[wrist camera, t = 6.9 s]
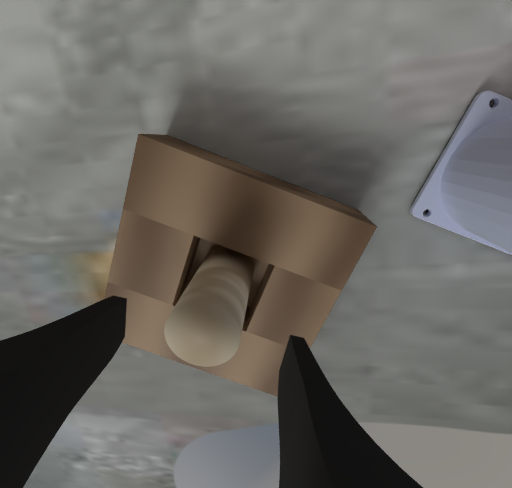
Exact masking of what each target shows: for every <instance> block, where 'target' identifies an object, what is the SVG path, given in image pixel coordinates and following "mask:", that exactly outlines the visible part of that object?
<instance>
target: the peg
mask: <svg viewBox="0 0 512 488" xmlns="http://www.w3.org/2000/svg"><path fill="white" fill-rule="evenodd" d="M253 271H254V262H253V259H252V257H250V256H247V255H245V254H242V253H239V252H237V251H234V250H231V249H229V248H226V247H223V246H221V245H216V246H215V247H213V248H212V249H211V250H210V251H209V252H208V254H207V256H206V257H205V259H204V261H203V262H202V264H201V265H200V267H199V269H198V270H197V272H196V273H195V275H194V277H193V278H192V280H191V281H190V283H189V285H188V286H187V288H186V289H185V291H184V293H183V294H182V296H181V297H180V299H179V301H178V302H177V304H176V305H175V307H174V309H173V310H172V312H171V313H170V315H169V317H168V318H167V320H166V323H165V327H164V335H165V339H166V342H167V344H168V346H169V347H170V349H171V350H172V351H173V352H174V354H175V355H177V356H178V357H179V358H181V359H182V360H184V361H186V362H188V363H190V364H193V365H196V366H203V367H211V366H217V365H220V364H223V363H225V362H227V361H228V360H229V359H231V358H232V357H233V356H234V354H235V353H236V351H237V350H238V347H239V343H240V338H241V333H242V328H243V323H244V317H245V312H246V307H247V302H248V297H249V292H250V287H251V282H252V277H253Z"/></svg>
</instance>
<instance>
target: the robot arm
mask: <svg viewBox="0 0 512 488" xmlns="http://www.w3.org/2000/svg"><path fill="white" fill-rule="evenodd" d="M492 99H493V100H494V105H493V107H492V108H491V107H490V106H489V103H490V101H491V100H492ZM427 209H428V214H427V215H425V216H423V212H424V211H425V210H427ZM410 213H411V214H412V215H413V216H415V217H417V218H419V219H422V220H424V221H427V222H429V223H432V224H434V225H437V226H439V227H442V228H445V229H447V230H450V231H452V232H455V233H457V234H460V235H462V236H465V237H467V238H470V239H472V240H475V241H478V242H480V243H483V244H485V245H488V246H490V247H493V248H495V249H498V250H500V251H503V252H505V253H508V254H511V255H512V99H509V98H507V97H505V96H502V95H500V94H498V93H495V92H493V91H490V90H486V91H482V92H480V93H478V94H477V95H476V96H475V98H474V99H473V101H472V103H471V105H470V106H469V108H468V110H467V112H466V113H465V115H464V117H463V118H462V120H461V122H460V124H459V125H458V127H457V129H456V130H455V132H454V134H453V136H452V137H451V139H450V141H449V142H448V144H447V146H446V148H445V149H444V151H443V153H442V154H441V156H440V158H439V160H438V161H437V163H436V165H435V166H434V168H433V170H432V172H431V173H430V175H429V177H428V179H427V180H426V182H425V184H424V185H423V187H422V189H421V191H420V192H419V194H418V196H417V197H416V199H415V201H414V203H413V204H412V206H411V208H410ZM126 309H127V298H123V297H118V296H114V295H113V296H111V297H108V298H106V299H104V300H101V301H99V302H97V303H95V304H93V305H91V306H88V307H86V308H84V309H82V310H80V311H77V312H75V313H73V314H71V315H69V316H66V317H64V318H61V319H59V320H57V321H54V322H52V323H49V324H47V325H44V326H42V327H39V328H37V329H34V330H31V331H29V332H26V333H23V334H20V335H17V336H14V337H11V338H8V339H5V340H1V341H0V488H23V486H24V485H25V483H26V481H27V480H28V478H29V476H30V475H31V473H32V471H33V470H34V468H35V466H36V465H37V463H38V461H39V460H40V458H41V457H42V455H43V453H44V452H45V450H46V449H47V447H48V445H49V444H50V442H51V441H52V439H53V438H54V436H55V434H56V433H57V431H58V430H59V428H60V427H61V425H62V424H63V422H64V421H65V419H66V418H67V416H68V415H69V413H70V412H71V410H72V409H73V408H74V406H75V405H76V404H77V402H78V401H79V400H80V399H81V397H82V396H83V395H84V394H85V392H86V391H87V390H88V388H89V387H90V386H91V385H92V383H93V382H94V381H95V380H96V378H97V377H98V376H99V375H100V373H101V372H102V371H103V369H104V368H105V367H106V365H107V364H108V363H109V362H110V360H111V359H112V358H113V356H114V354H115V353H116V351H117V350H118V348H119V346H120V345H121V343H122V341H123V339H124V338H125V328H126ZM278 417H279V436H280V481H279V488H423V487H421V486H420V485H419V484H418V483H417V482H416V481H415V480H414V479H413V478H411V477H410V476H409V475H408V474H407V473H406V472H405V471H403V470H402V469H401V468H400V467H399V466H398V465H397V464H396V463H395V462H394V461H393V460H392V459H391V458H390V457H389V456H388V455H387V454H386V453H385V452H384V451H383V450H382V449H381V448H380V447H379V446H378V445H377V444H376V443H375V442H374V441H373V439H372V438H371V437H370V436H369V435H368V434H367V433H366V432H365V431H364V429H363V428H362V427H361V426H360V425H359V424H358V422H357V421H356V420H355V419H354V417H353V416H352V415H351V414H350V412H349V411H348V410H347V408H346V407H345V406H344V405H343V403H342V402H341V400H340V399H339V398H338V396H337V395H336V393H335V392H334V390H333V389H332V387H331V385H330V384H329V382H328V381H327V379H326V377H325V376H324V374H323V372H322V370H321V369H320V367H319V365H318V363H317V361H316V360H315V358H314V356H313V354H312V352H311V350H310V348H309V346H308V344H307V342H306V340H305V339H304V338H303V337H298V336H294V335H290V337H289V340H288V343H287V347H286V350H285V353H284V357H283V360H282V363H281V366H280V370H279V379H278Z"/></svg>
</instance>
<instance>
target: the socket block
mask: <svg viewBox="0 0 512 488" xmlns="http://www.w3.org/2000/svg"><path fill="white" fill-rule="evenodd" d="M376 228H377V226H376V225H375V224H373V223H372V222H371V221H370V220H369V219H368V218H367V217H366V216H365V215H363V214H362V213H361V212H360V211H359V210H357V209H354V208H352V207H349V206H347V205H344V204H342V203H339V202H336V201H334V200H331V199H329V198H326V197H324V196H321V195H319V194H316V193H313V192H311V191H308V190H306V189H303V188H301V187H298V186H295V185H293V184H290V183H288V182H285V181H283V180H280V179H278V178H275V177H272V176H270V175H267V174H265V173H262V172H260V171H257V170H255V169H252V168H249V167H247V166H244V165H242V164H239V163H237V162H234V161H232V160H229V159H226V158H224V157H221V156H219V155H216V154H214V153H211V152H208V151H206V150H203V149H201V148H198V147H196V146H193V145H191V144H188V143H185V142H183V141H180V140H178V139H175V138H173V137H170V136H168V135H155V134H138V138H137V143H136V148H135V153H134V158H133V163H132V168H131V172H130V177H129V182H128V187H127V192H126V197H125V202H124V206H123V211H122V216H121V221H120V226H119V231H118V236H117V240H116V245H115V250H114V255H113V260H112V265H111V269H110V274H109V279H108V284H107V289H106V294H105V299H106V298H108V297H111V296H113V295H114V296H118V297H123V298H127V309H126V328H125V338H124V339H123V341H122V343H125V344H128V345H131V346H134V347H137V348H140V349H143V350H145V351H148V352H151V353H154V354H157V355H160V356H163V357H166V358H168V359H171V360H174V361H177V362H180V363H183V364H186V365H189V366H191V367H194V368H197V369H200V370H203V371H206V372H209V373H212V374H214V375H217V376H220V377H223V378H226V379H229V380H232V381H235V382H237V383H240V384H243V385H246V386H249V387H252V388H255V389H258V390H261V391H263V392H266V393H269V394H272V395H275V396H278V379H279V370H280V366H281V363H282V360H283V357H284V353H285V350H286V347H287V343H288V340H289V337H290V335H294V336H298V337H303V338H304V339H305V340H306V342H307V344H308V346H309V348H310V347H311V345H312V344H313V342H314V340H315V338H316V336H317V335H318V333H319V331H320V329H321V327H322V325H323V324H324V322H325V320H326V318H327V316H328V315H329V313H330V311H331V309H332V307H333V306H334V304H335V302H336V300H337V298H338V297H339V295H340V293H341V291H342V289H343V287H344V286H345V284H346V282H347V280H348V278H349V277H350V275H351V273H352V271H353V269H354V268H355V266H356V264H357V262H358V260H359V258H360V257H361V255H362V253H363V251H364V249H365V248H366V246H367V244H368V242H369V240H370V239H371V237H372V235H373V233H374V231H375V229H376ZM216 245H221V246H223V247H226V248H229V249H231V250H234V251H237V252H239V253H242V254H245V255H247V256H250V257H252V259H253V262H254V271H253V277H252V282H251V287H250V292H249V297H248V302H247V307H246V312H245V317H244V323H243V328H242V333H241V338H240V343H239V347H238V350H237V351H236V353H235V354H234V356H233V357H232V358H231V359H229V360H228V361H227V362H225V363H223V364H220V365H217V366H211V367H203V366H196V365H193V364H190V363H188V362H186V361H184V360H182V359H181V358H179V357H178V356H177V355H175V354H174V352H173V351H172V350H171V349H170V347H169V346H168V344H167V342H166V339H165V335H164V327H165V323H166V320H167V318H168V317H169V315H170V313H171V312H172V310H173V309H174V307H175V305H176V304H177V302H178V301H179V299H180V297H181V296H182V294H183V293H184V291H185V289H186V288H187V286H188V285H189V283H190V281H191V280H192V278H193V277H194V275H195V273H196V272H197V270H198V269H199V267H200V265H201V264H202V262H203V261H204V259H205V257H206V256H207V254H208V252H209V251H210V250H211V249H212V248H213V247H215V246H216Z"/></svg>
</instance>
